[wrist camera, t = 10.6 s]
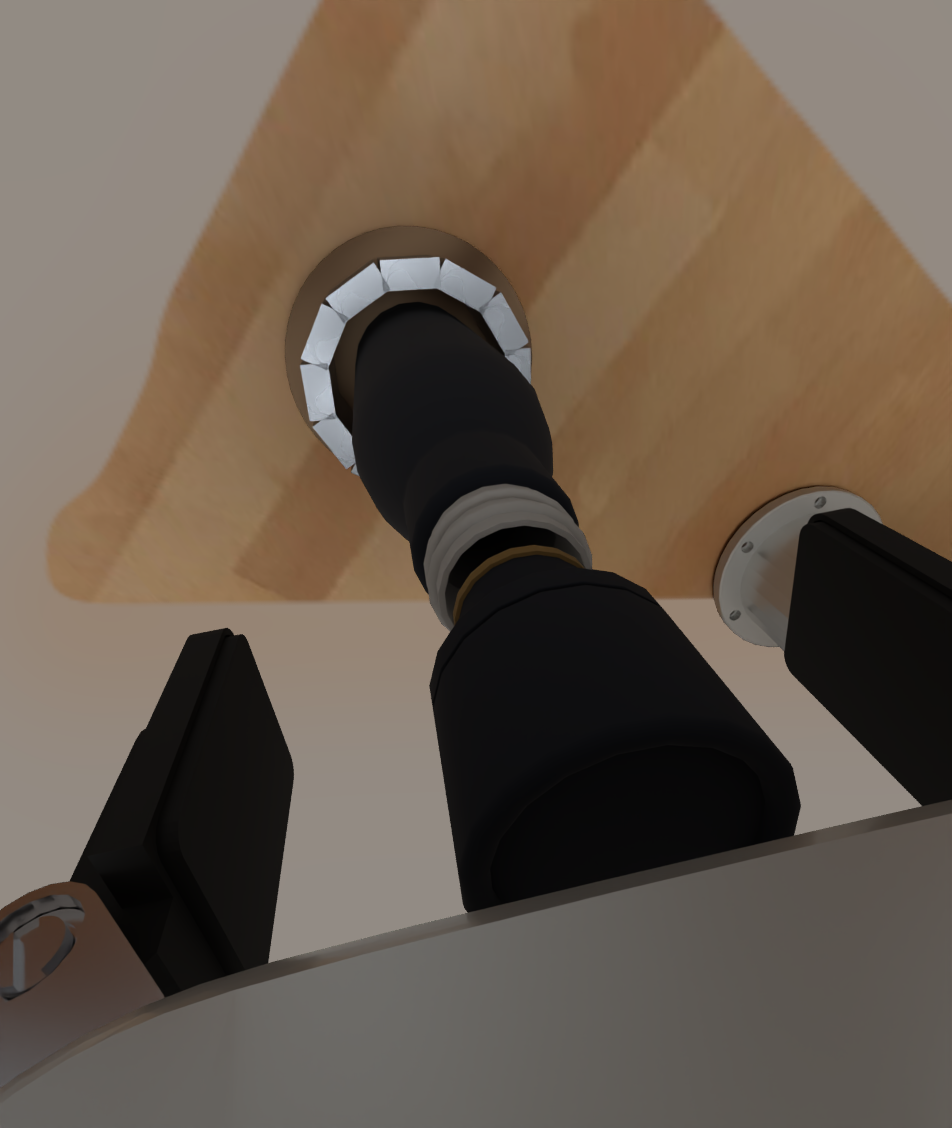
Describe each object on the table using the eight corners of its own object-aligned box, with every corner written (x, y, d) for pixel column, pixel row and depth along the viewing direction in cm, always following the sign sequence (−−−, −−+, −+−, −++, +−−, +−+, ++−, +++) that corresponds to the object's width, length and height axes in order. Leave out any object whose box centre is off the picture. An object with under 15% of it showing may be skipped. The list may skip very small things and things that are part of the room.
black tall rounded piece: (480, 305, 32) (1026, 599, 6) (472, 427, 35) (810, 995, 9) (354, 297, 31) (316, 618, 5) (356, 424, 34) (340, 1066, 8)
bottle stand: (567, 303, 34) (608, 316, 28) (462, 505, 39) (479, 551, 33) (343, 172, 30) (339, 156, 24) (254, 417, 34) (232, 452, 28)
